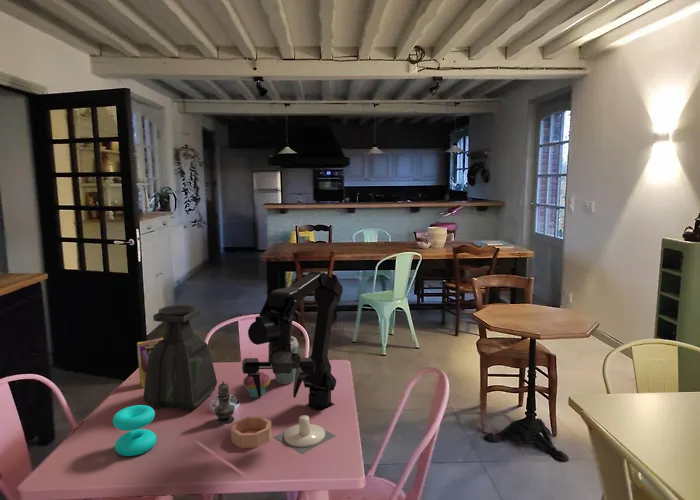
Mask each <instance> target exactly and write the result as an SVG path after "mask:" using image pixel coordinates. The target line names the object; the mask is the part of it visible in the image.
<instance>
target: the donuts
mask: <svg viewBox="0 0 700 500" xmlns="http://www.w3.org/2000/svg"><path fill="white" fill-rule="evenodd" d="M155 415H156V412H155V410H154V407H151V405H146V404H145V405H144V404H138V405H137V404H136V405H135V404H134V405H131V406H126V407H124V408H122V409H120V410H119V411H117V412H116V413H115V414H114V416H113V417H112V425H113V426H114V427H115V428H116V429H118V430H120V431H127V432H126V433H123V434H122V435H120V436H119V437H118V438H117V439H116V442H114V443H115V444H114V450H115V452H116V453H117V454H119V455H120V456H124V457H133V456H139V455H142V454H145V453H147V452H148V451H150V450H152V448H154V446H155V445H156V443H157V435H156V433H155V432H153V430H150V429H145V428H144V427H146V426H148V425H150V424H151V423H152V422H153V420H154V419H155Z"/></svg>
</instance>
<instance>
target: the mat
mask: <svg viewBox="0 0 700 500" xmlns="http://www.w3.org/2000/svg"><path fill="white" fill-rule="evenodd" d="M310 424H312V423H311V422H310ZM324 431H325V438H324V440H323V441H322V442H320V443H319V444H317V445H314V446H310V447H295V446H291V445H289V444H287V443H286V442H285V440H284V433H285V431H283V432H281V433H279V434H277V435H275V436H273V439H275V440H277V441H279V442H281V443H282V444H284V445H286V446H287V447H289V448H291V449H293V450H294V451H295V452H298V453H300V454H305V453H307V452H309V451H310V450H312V449H315V448H316V447H318V446H321V445H322V444H323V443H326V442H327V441H329V440H332V439H333V438H335V437H337V436H336V434H334V433H331V432H329V431H327V430H325V429H324Z"/></svg>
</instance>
